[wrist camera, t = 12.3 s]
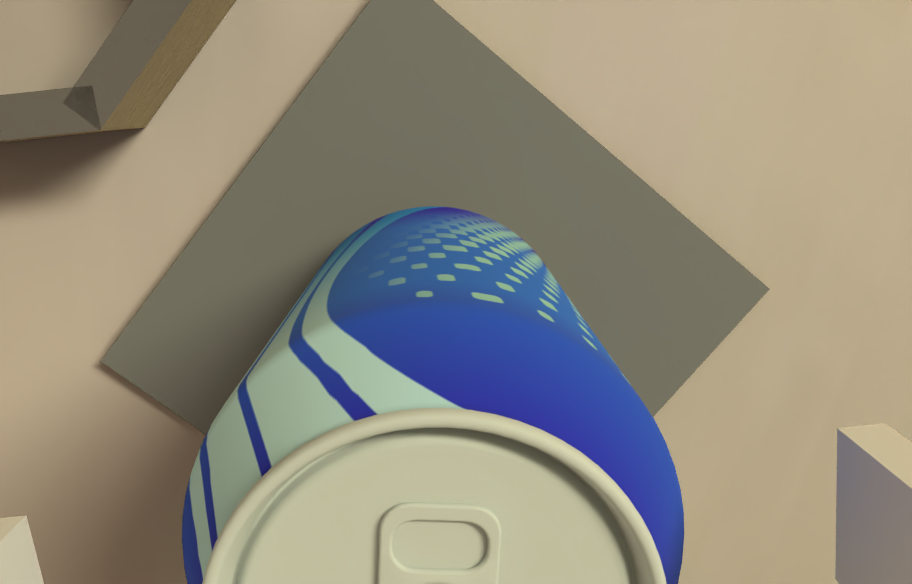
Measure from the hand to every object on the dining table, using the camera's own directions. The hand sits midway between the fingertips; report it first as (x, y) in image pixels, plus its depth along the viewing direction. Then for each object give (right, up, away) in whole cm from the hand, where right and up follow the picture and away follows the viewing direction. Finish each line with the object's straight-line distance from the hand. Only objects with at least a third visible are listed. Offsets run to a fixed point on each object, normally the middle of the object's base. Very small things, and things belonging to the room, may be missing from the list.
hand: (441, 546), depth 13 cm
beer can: (-1, +3, +14) cm, 14 cm away
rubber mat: (0, +3, +14) cm, 15 cm away
